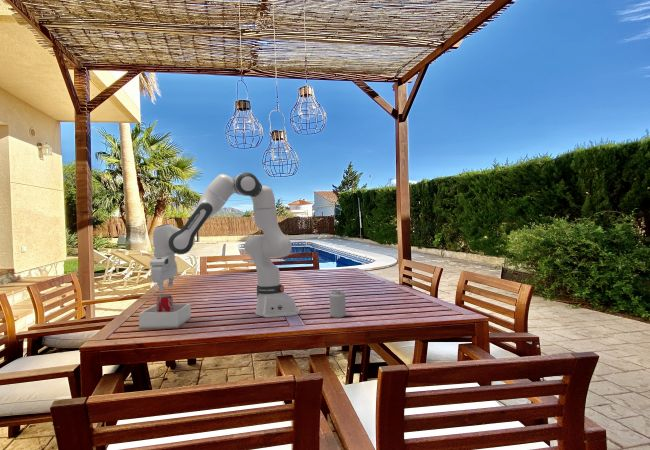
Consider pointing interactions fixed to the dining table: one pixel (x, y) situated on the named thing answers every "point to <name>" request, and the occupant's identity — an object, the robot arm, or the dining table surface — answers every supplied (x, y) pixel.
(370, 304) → the dining table surface
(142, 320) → the bin
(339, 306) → the can
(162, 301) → the soda can
